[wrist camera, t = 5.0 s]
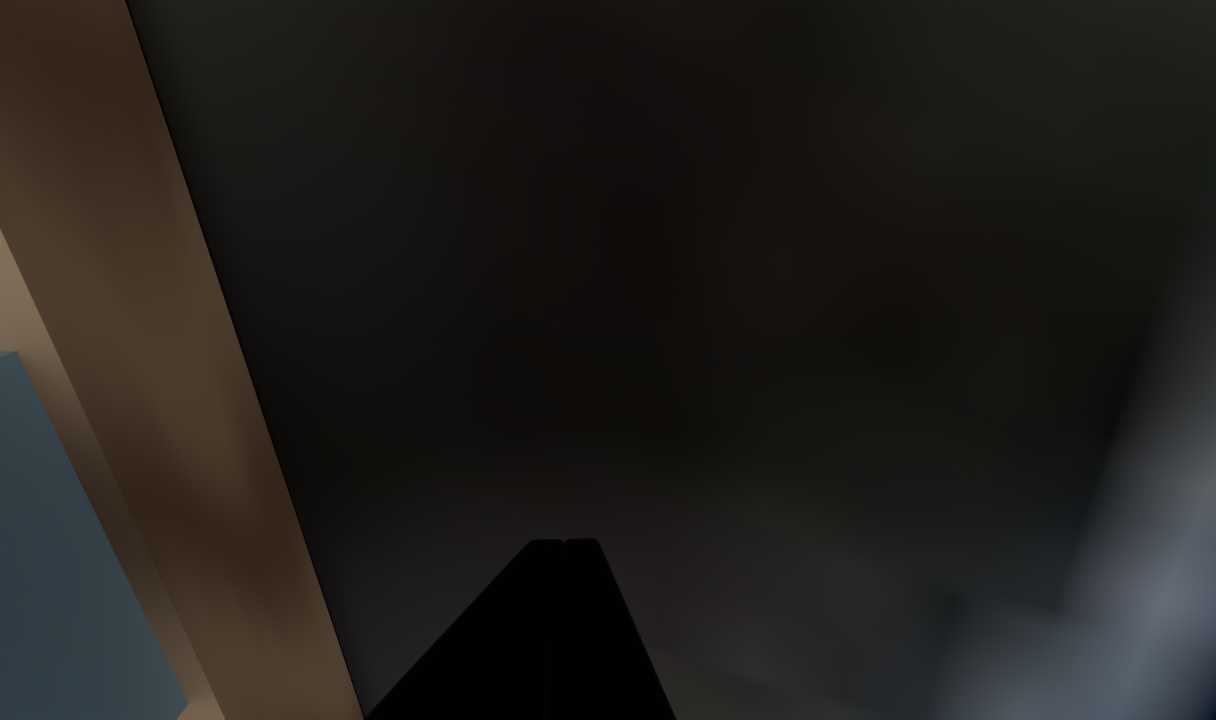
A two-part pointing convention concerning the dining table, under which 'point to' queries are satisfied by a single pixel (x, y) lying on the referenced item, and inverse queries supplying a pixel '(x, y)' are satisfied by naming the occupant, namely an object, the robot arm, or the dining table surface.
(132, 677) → the teal block
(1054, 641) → the dining table surface
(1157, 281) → the dining table surface
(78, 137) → the trap deck
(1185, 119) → the dining table surface
